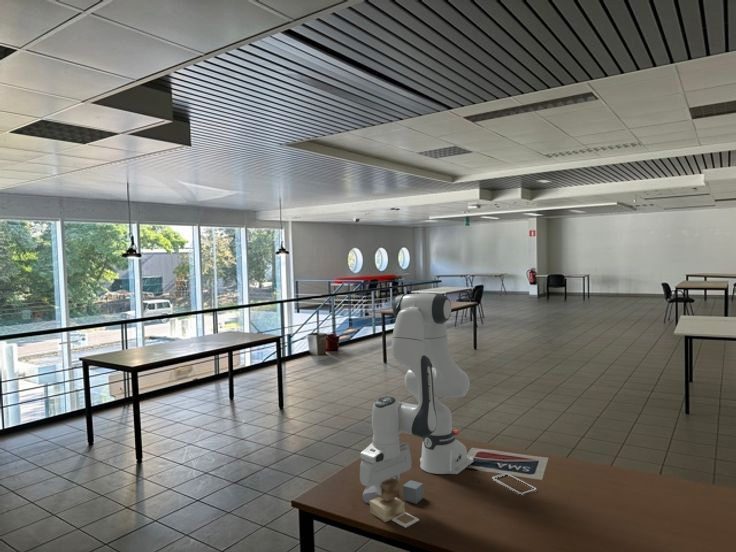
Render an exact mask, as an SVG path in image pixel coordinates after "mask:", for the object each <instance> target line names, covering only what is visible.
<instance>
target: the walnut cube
mask: <svg viewBox="0 0 736 552" xmlns="http://www.w3.org/2000/svg"><path fill="white" fill-rule="evenodd" d="M393 478H394V477H392V478H389V479H387V480H385V481H382V482H381V485H380V487H381V488H383V489H384V494H382V495H378V494H377V496H378V497H380V498H382V499H384V500H386V501H389V500H391V499H393V498H398V497H399V492H400V491H399V487H400V486H399V481H398V480H396V479H393Z"/></svg>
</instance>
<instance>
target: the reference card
mask: <svg viewBox="0 0 736 552" xmlns="http://www.w3.org/2000/svg"><path fill="white" fill-rule="evenodd" d="M391 521H393V522H394V523H396V524H398V525H400V526H401V527H404V528H408V527H410V526H411V525H413V524H415V523H417V522H419V521H420V519H419V518H417V517H416V516H413V515H411V514H410V513H408V512H406V511H405V513H403V514H401V515H399V516H397V517H395V518H393V519H391Z"/></svg>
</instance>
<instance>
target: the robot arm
mask: <svg viewBox="0 0 736 552" xmlns="http://www.w3.org/2000/svg"><path fill="white" fill-rule="evenodd" d="M392 314H393V316H394V318H395V322H394V327H393V332H392V336H391V348H390V349H391V354H392V356H393V358H394V359H395V360H396V362H397V363H398V364H399V365H401V366H402V367H404V368H406V369H408V370H407V372H406V373H405V375H404V385H405V388H406V390H407V391H408V392H409V393H410V394H411V395H412V396H413V397H414V398H415V399H416V401H417V402H418V404H416V403H415V404H414V403H408V402H405V401H404V402H403V401H399V400H396V398H395V397H393V396H386V395H385V396H381V397H378V398H377V399H376V400H375V401H374V402H373V404H372V405H373V406H372V412H371V429H372V432H373V433H372V434H373V435H372V442H371V443H370V444H369V445H368V446H367V447H365V448H364V449H363V450H362V451H360V454H359V455H360V459H361V462H360V464H359V480H360V481H359V482H360V484H361V485H363V486H365V488H366V487H371V486H373V485H374V486H375V487H376V489H377V494H378V495H382V494H384V489H383V488H381V487H380V485H381V482H382V481H385V480H387V479H389V478H393V479H396V480H398V482H399V481H400V479H401V474H403V473H405V472H408V471H410V470H411V468H412V467H413V466H412V465H413V464H412V455H411V451H410V444H409V443H408V442H406V441H403V442H400V440H401V439H400V436H399V433H404V434H408V435H413V436H415V437H418V438H422V442H421V444H422V445H421V457H420V458H419V462H420V465H419V466H420V469H421V470H422V471H424V472H427V473H429V474H437V475H445V474H446V475H448V474H449V475H458V474H460V473H461V472H462V471H464V470H465V469H466V468H468V465H469V466H470V465H471V464H472V463H474V458H473V457H471V455H470V456H469V455H468V450H467V447H466V445H465V444H463V443H462V442H461V441H459V440H458V439H456V436H459V435H460V431H459V430H458V429H453V425H452V424H453V421H452V417H453V416H452V411H451V410H450V408H449V407H448V406H447V405H445V404H443V403H442V402H441V401H440V400H439V398H440V397H441V398H454V399H455V398H462V397H463V398H464V396H466V395H467V393H468V392H469V390H470V386H471V383H470V377H469V375H468V374H467V373H466V372H465V371H464V370H462V369H461V368H460V367H459V366H458V365H457V364H456V362H455V361H454V359H453V358H452V355H451V353H450V347H449V346H450V345H449V338H448V337H449V336H448V326H447V321H448V320H449V319H450V317H451V314H452V303H451V300H450V299H449V298H448V296H446V295H444V294H439V293H437V294H435V293H427V292H421V293H410V294H408V293H403V294H402V293H401V294H399V295H397V296H396V297H395V298H394V299H393V302H392ZM432 366H433V367H432ZM438 397H439V398H438Z"/></svg>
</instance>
